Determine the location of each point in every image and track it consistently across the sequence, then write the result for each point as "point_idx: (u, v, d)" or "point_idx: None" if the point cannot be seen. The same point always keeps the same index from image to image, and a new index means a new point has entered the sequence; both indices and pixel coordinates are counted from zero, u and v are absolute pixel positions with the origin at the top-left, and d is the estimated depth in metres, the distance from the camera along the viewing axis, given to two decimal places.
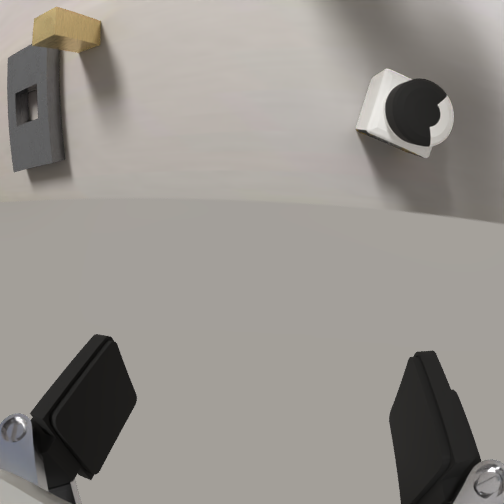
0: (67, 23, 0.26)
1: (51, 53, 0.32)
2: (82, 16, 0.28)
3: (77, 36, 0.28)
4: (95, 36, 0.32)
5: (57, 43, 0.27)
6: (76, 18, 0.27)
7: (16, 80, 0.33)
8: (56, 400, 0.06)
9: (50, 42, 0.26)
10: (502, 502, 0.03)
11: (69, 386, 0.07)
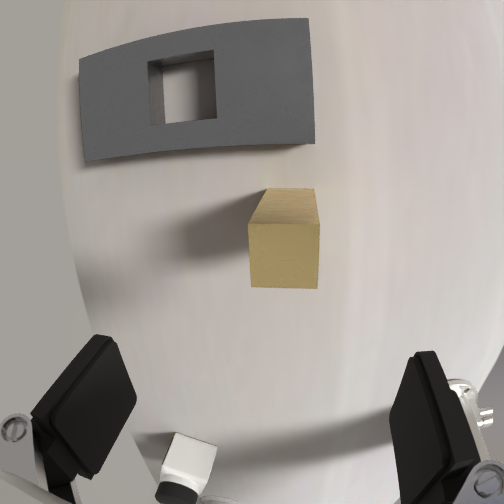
0: None
1: None
2: None
3: None
4: None
5: None
6: None
7: (242, 50, 0.20)
8: (56, 401, 0.06)
9: None
10: (502, 502, 0.03)
11: (69, 386, 0.07)
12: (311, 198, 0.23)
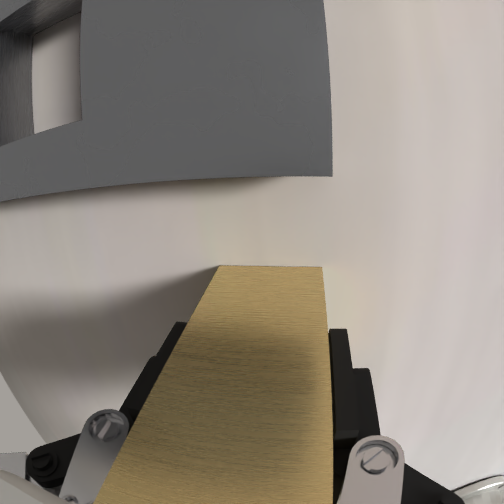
0: None
1: None
2: None
3: None
4: None
5: None
6: None
7: None
8: None
9: None
10: (401, 473, 0.05)
11: None
12: (316, 323, 0.09)
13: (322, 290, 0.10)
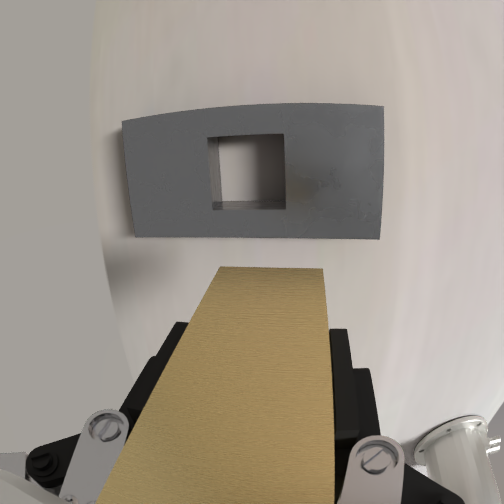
0: None
1: None
2: None
3: None
4: None
5: None
6: None
7: (315, 137, 0.21)
8: None
9: None
10: (401, 472, 0.05)
11: None
12: (317, 325, 0.09)
13: (323, 292, 0.10)
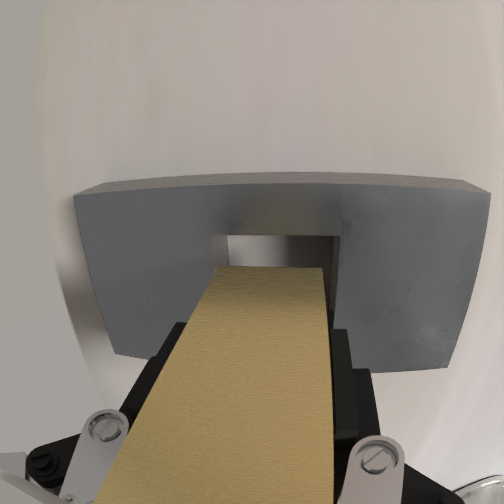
0: None
1: None
2: None
3: None
4: None
5: None
6: None
7: (389, 243, 0.13)
8: None
9: None
10: (401, 473, 0.05)
11: None
12: (316, 324, 0.09)
13: (322, 291, 0.10)
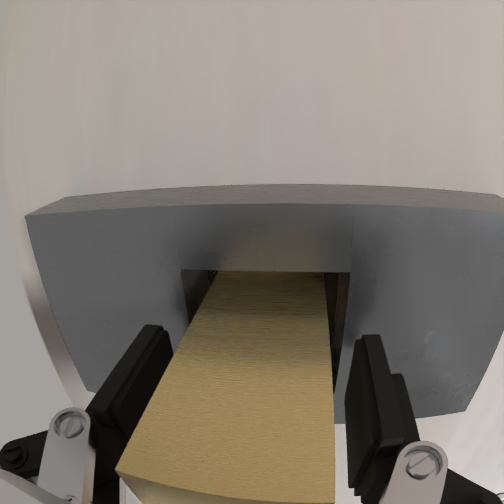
0: None
1: None
2: None
3: None
4: None
5: None
6: None
7: (413, 280, 0.10)
8: (117, 391, 0.07)
9: None
10: (442, 480, 0.04)
11: (128, 376, 0.08)
12: (316, 307, 0.10)
13: (322, 279, 0.11)
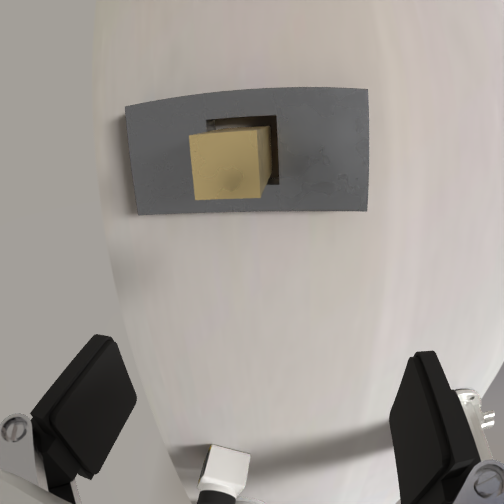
0: None
1: None
2: None
3: None
4: None
5: None
6: None
7: (305, 118, 0.23)
8: (56, 400, 0.06)
9: None
10: (501, 502, 0.03)
11: (69, 386, 0.07)
12: None
13: (267, 126, 0.24)
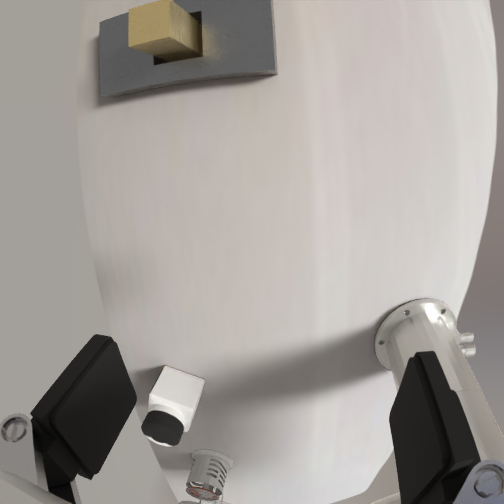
0: (159, 46, 0.24)
1: (247, 73, 0.29)
2: (188, 49, 0.26)
3: (153, 53, 0.26)
4: (176, 59, 0.30)
5: None
6: (178, 47, 0.25)
7: (222, 9, 0.25)
8: (56, 400, 0.06)
9: None
10: (502, 502, 0.03)
11: (69, 386, 0.07)
12: None
13: (197, 22, 0.27)
